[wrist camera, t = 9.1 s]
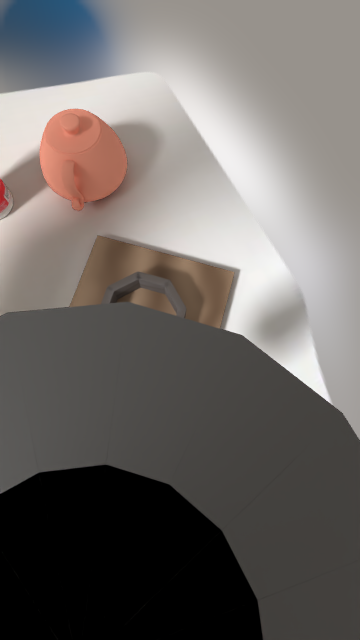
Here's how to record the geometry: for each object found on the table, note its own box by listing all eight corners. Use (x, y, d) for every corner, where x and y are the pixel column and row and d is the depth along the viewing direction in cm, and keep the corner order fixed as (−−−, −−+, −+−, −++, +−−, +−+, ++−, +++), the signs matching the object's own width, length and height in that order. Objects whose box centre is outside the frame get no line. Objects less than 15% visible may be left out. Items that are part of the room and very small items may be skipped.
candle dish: (47, 372, 43) (34, 368, 39) (99, 239, 48) (92, 223, 44) (196, 416, 42) (198, 417, 38) (233, 275, 47) (238, 262, 43)
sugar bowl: (133, 146, 53) (124, 85, 43) (122, 224, 49) (110, 177, 39) (57, 140, 53) (30, 78, 43) (40, 217, 49) (6, 169, 39)
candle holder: (186, 378, 28) (304, 205, 3) (209, 453, 26) (686, 1060, 2) (113, 400, 27) (-365, 387, 3) (134, 479, 26) (-465, 1784, 1)
